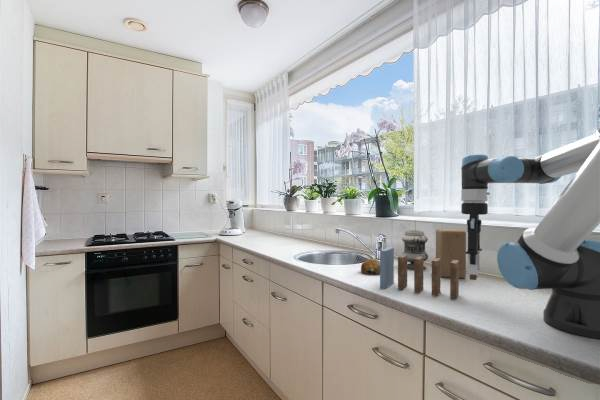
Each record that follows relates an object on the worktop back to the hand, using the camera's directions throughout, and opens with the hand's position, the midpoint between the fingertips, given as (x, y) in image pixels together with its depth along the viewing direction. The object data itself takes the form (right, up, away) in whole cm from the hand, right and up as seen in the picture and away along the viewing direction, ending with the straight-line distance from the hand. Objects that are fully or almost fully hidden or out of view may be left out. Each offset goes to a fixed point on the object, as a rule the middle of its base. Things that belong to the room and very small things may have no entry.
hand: (473, 272), depth 100 cm
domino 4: (-5, -9, +3) cm, 11 cm away
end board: (-24, -9, +16) cm, 30 cm away
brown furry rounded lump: (-25, -9, +37) cm, 46 cm away
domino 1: (-19, -9, +13) cm, 25 cm away
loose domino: (0, -2, 0) cm, 2 cm away
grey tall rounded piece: (-2, -9, +47) cm, 48 cm away
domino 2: (-14, -9, +10) cm, 20 cm away
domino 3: (-10, -9, +7) cm, 15 cm away
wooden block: (+8, -9, +32) cm, 34 cm away
